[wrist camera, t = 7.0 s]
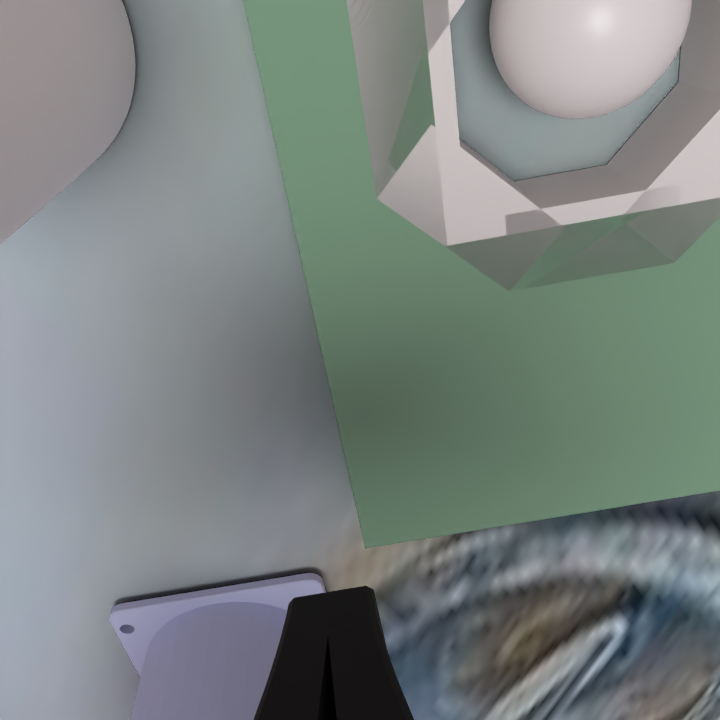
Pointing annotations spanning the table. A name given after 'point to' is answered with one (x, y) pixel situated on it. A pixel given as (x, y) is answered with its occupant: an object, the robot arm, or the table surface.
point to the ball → (585, 50)
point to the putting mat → (495, 280)
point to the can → (58, 96)
